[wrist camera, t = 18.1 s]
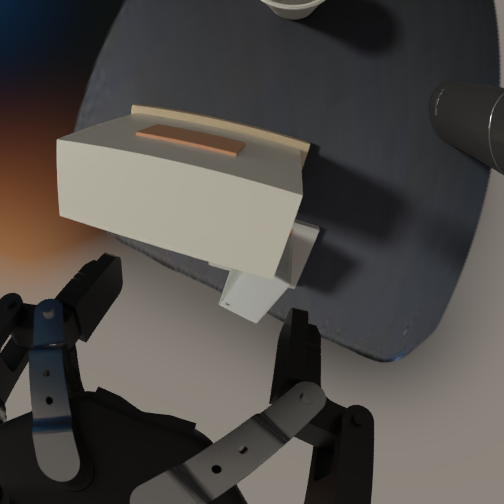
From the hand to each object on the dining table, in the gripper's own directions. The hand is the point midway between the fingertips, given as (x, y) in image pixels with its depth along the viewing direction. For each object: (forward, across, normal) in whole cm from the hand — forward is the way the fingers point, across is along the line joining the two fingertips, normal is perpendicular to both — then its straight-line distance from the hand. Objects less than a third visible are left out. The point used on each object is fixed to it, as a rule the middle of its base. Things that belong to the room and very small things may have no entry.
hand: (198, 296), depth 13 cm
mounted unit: (+28, +7, +2) cm, 29 cm away
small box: (+27, -3, +14) cm, 31 cm away
